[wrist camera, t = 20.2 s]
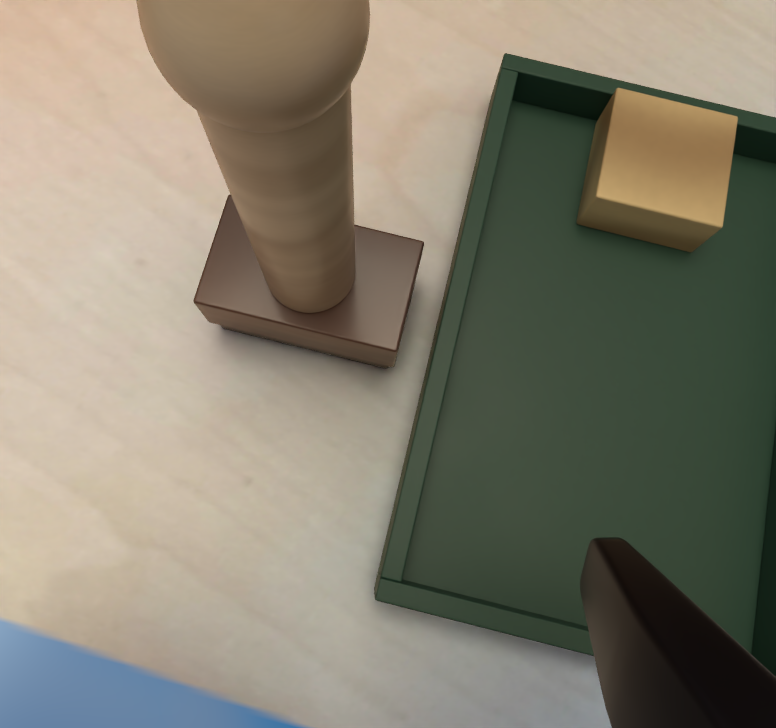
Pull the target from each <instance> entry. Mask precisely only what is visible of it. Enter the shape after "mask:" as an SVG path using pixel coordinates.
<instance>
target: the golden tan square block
mask: <svg viewBox="0 0 776 728" xmlns="http://www.w3.org/2000/svg"><path fill="white" fill-rule="evenodd" d="M737 121H738V117H737V116H733V115H729V114H725V113H721V112H717V111H713V110H709V109H704V108H700V107H696V106H692V105H688V104H684V103H680V102H676V101H671V100H667V99H663V98H659V97H655V96H651V95H647V94H643V93H638V92H634V91H630V90H626V89H622V88H617V89H616V90H615V92H614V94H613V95H612V97H611V99H610V100H609V102H608V104H607V105H606V107H605V109H604V110H603V112H602V114H601V115H600V117H599V119H598V121H597V122H596V125H595V130H594V135H593V140H592V145H591V151H590V156H589V161H588V166H587V171H586V176H585V181H584V186H583V191H582V196H581V201H580V206H579V211H578V216H577V221H576V222H577V224H578V225H582V226H586V227H590V228H594V229H598V230H602V231H606V232H610V233H615V234H619V235H623V236H627V237H631V238H635V239H639V240H643V241H647V242H651V243H655V244H659V245H663V246H667V247H671V248H675V249H679V250H683V251H687V252H693V251H694V250H695V249H696V248H698V247H699V246H700V245H701V244H703V243H704V242H705V241H706V240H708V239H709V238H710V237H711V236H713V235H714V234H715V233H716V232H718V231H719V230H720V229H721V228H722V227H723V221H724V214H725V207H726V200H727V193H728V186H729V178H730V171H731V164H732V157H733V150H734V143H735V135H736V128H737Z"/></svg>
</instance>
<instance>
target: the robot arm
mask: <svg viewBox="0 0 776 728" xmlns="http://www.w3.org/2000/svg"><path fill="white" fill-rule="evenodd" d="M580 592H581V598H582V603H583V607H584V612H585V616H586V621H587V626H588V630H589V635H590V639H591V644H592V649H593V653H594V658H595V662H596V667H597V672H598V676H599V681H600V685H601V690H602V694H603V698H604V702H605V706H606V710H607V713H608V716H609V720H610V723H611V726H612V728H776V677H775V676H774V675H773V674H772V673H771V672H770V671H769V670H768V669H767V668H766V667H764V666H763V665H762V664H761V663H760V662H759V661H758V660H757V659H756V658H755V657H753V656H752V655H751V654H750V653H749V652H748V651H747V650H746V649H745V648H744V647H742V646H741V645H740V644H739V643H738V642H737V641H736V640H735V639H734V638H733V637H731V636H730V635H729V634H728V633H727V632H726V631H725V630H724V629H723V628H722V627H721V626H719V625H718V624H717V623H716V622H715V621H714V620H713V619H712V618H711V617H710V616H708V615H707V614H706V613H705V612H704V611H703V610H702V609H701V608H700V607H699V606H697V605H696V604H695V603H694V602H693V601H692V600H691V599H690V598H689V597H688V596H687V595H685V594H684V593H683V592H682V591H681V590H680V589H679V588H678V587H677V586H676V585H674V584H673V583H672V582H671V581H670V580H669V579H668V578H667V577H666V576H665V575H663V574H662V573H661V572H660V571H659V570H658V569H657V568H656V567H655V566H654V565H652V564H651V563H650V562H649V561H648V560H647V559H646V558H645V557H644V556H643V555H642V554H640V553H639V552H638V551H637V550H636V549H635V548H634V547H633V546H632V545H631V544H629V543H628V542H627V541H626V540H624V539H622V538H620V537H602V538H594V539H592V540H591V541H590V543H589V546H588V550H587V554H586V558H585V562H584V566H583V570H582V574H581V578H580Z"/></svg>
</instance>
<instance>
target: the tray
mask: <svg viewBox="0 0 776 728" xmlns="http://www.w3.org/2000/svg"><path fill="white" fill-rule="evenodd" d="M617 88H622V89H626V90H630V91H634V92H638V93H643V94H647V95H651V96H655V97H659V98H663V99H667V100H671V101H676V102H680V103H684V104H688V105H692V106H696V107H700V108H704V109H709V110H713V111H717V112H721V113H725V114H729V115H733V116H737V117H738V121H737V128H736V135H735V143H734V150H733V157H732V164H731V171H730V178H729V186H728V193H727V200H726V207H725V214H724V221H723V227H722V228H721V229H720V230H719V231H718V232H716V233H715V234H714V235H713V236H711V237H710V238H709V239H708V240H706V241H705V242H704V243H703V244H701V245H700V246H699V247H698V248H696V249H695V250H694V251H693V252H687V251H683V250H679V249H675V248H671V247H667V246H663V245H659V244H655V243H651V242H647V241H643V240H639V239H635V238H631V237H627V236H623V235H619V234H615V233H610V232H606V231H602V230H598V229H594V228H590V227H586V226H582V225H578V224H577V222H576V221H577V216H578V211H579V206H580V201H581V196H582V191H583V186H584V181H585V176H586V171H587V166H588V161H589V156H590V151H591V145H592V140H593V135H594V130H595V125H596V122H597V121H598V119H599V117H600V115H601V114H602V112H603V110H604V109H605V107H606V105H607V104H608V102H609V100H610V99H611V97H612V95H613V94H614V92H615V90H616V89H617ZM602 537H620V538H622V539H624V540H626V541H627V542H628V543H629V544H631V545H632V546H633V547H634V548H635V549H636V550H637V551H638V552H639V553H640V554H642V555H643V556H644V557H645V558H646V559H647V560H648V561H649V562H650V563H651V564H652V565H654V566H655V567H656V568H657V569H658V570H659V571H660V572H661V573H662V574H663V575H665V576H666V577H667V578H668V579H669V580H670V581H671V582H672V583H673V584H674V585H676V586H677V587H678V588H679V589H680V590H681V591H682V592H683V593H684V594H685V595H687V596H688V597H689V598H690V599H691V600H692V601H693V602H694V603H695V604H696V605H697V606H699V607H700V608H701V609H702V610H703V611H704V612H705V613H706V614H707V615H708V616H710V617H711V618H712V619H713V620H714V621H715V622H716V623H717V624H718V625H719V626H721V627H722V628H723V629H724V630H725V631H726V632H727V633H728V634H729V635H730V636H731V637H733V638H734V639H735V640H736V641H737V642H738V643H739V644H740V645H741V646H742V647H744V648H745V649H746V650H747V651H748V652H749V653H750V654H751V655H752V656H753V657H755V658H756V659H757V660H758V661H759V662H760V663H761V664H762V665H763V666H764V667H766V668H767V669H768V670H769V671H770V672H771V673H772V674H773V675H774V676H775V677H776V118H775V117H770V116H766V115H762V114H758V113H754V112H750V111H745V110H741V109H737V108H733V107H729V106H724V105H720V104H716V103H712V102H708V101H703V100H699V99H695V98H691V97H687V96H683V95H678V94H674V93H670V92H666V91H662V90H657V89H653V88H649V87H645V86H641V85H637V84H632V83H628V82H624V81H620V80H616V79H611V78H607V77H603V76H599V75H595V74H590V73H586V72H582V71H578V70H574V69H570V68H565V67H561V66H557V65H553V64H549V63H544V62H540V61H536V60H532V59H528V58H523V57H519V56H515V55H511V54H507V53H505V54H504V56H503V60H502V63H501V66H500V69H499V73H498V76H497V79H496V83H495V86H494V89H493V92H492V96H491V100H490V104H489V108H488V112H487V117H486V121H485V125H484V129H483V133H482V138H481V142H480V146H479V150H478V154H477V159H476V163H475V167H474V171H473V175H472V180H471V184H470V188H469V192H468V196H467V201H466V205H465V209H464V213H463V217H462V222H461V226H460V230H459V234H458V238H457V242H456V247H455V251H454V255H453V259H452V263H451V268H450V272H449V276H448V280H447V284H446V289H445V293H444V297H443V301H442V305H441V310H440V314H439V318H438V322H437V326H436V331H435V335H434V339H433V343H432V347H431V352H430V356H429V360H428V364H427V368H426V373H425V377H424V381H423V385H422V389H421V394H420V398H419V402H418V406H417V410H416V415H415V419H414V423H413V427H412V431H411V436H410V440H409V444H408V448H407V452H406V456H405V461H404V465H403V469H402V473H401V477H400V482H399V486H398V490H397V494H396V498H395V503H394V507H393V511H392V515H391V519H390V524H389V528H388V532H387V536H386V540H385V545H384V549H383V553H382V557H381V561H380V566H379V570H378V574H377V578H376V582H375V587H374V594H375V600H377V601H380V602H384V603H388V604H392V605H396V606H400V607H404V608H408V609H412V610H416V611H420V612H424V613H427V614H431V615H435V616H439V617H443V618H447V619H451V620H455V621H459V622H463V623H467V624H471V625H474V626H478V627H482V628H486V629H490V630H494V631H498V632H502V633H506V634H510V635H514V636H518V637H521V638H525V639H529V640H533V641H537V642H541V643H545V644H549V645H553V646H557V647H561V648H565V649H568V650H572V651H576V652H580V653H584V654H588V655H592V656H594V653H593V649H592V644H591V639H590V635H589V630H588V626H587V621H586V616H585V612H584V607H583V603H582V598H581V592H580V578H581V574H582V570H583V566H584V562H585V558H586V554H587V550H588V546H589V543H590V541H591V540H592V539H594V538H602Z"/></svg>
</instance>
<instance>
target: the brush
mask: <svg viewBox="0 0 776 728" xmlns="http://www.w3.org/2000/svg"><path fill="white" fill-rule="evenodd" d="M137 7H138V13H139V19H140V25H141V29H142V32H143V35H144V38H145V41H146V44H147V47H148V50H149V52H150V54H151V56H152V58H153V60H154V62H155V63H156V65H157V67H158V69H159V70H160V72H161V73H162V75H163V76H164V78H165V79H166V81H167V82H168V83H169V84H170V86H171V87H172V88H173V89H174V90H175V91H176V92H177V93H178V94H179V96H180V97H181V98H182V99H183V100H185V101H186V102H187V103H188V104H190V105H191V106H192V107H193V108H195V109H196V110H197V112H198V115H199V117H200V120H201V122H202V125H203V127H204V130H205V132H206V135H207V137H208V140H209V142H210V145H211V147H212V149H213V152H214V154H215V157H216V159H217V162H218V164H219V167H220V169H221V172H222V174H223V177H224V179H225V182H226V184H227V186H228V189H229V191H230V194H231V195H228V198H227V201H226V204H225V207H224V210H223V213H222V216H221V219H220V222H219V225H218V228H217V231H216V234H215V237H214V240H213V243H212V246H211V249H210V252H209V255H208V258H207V261H206V264H205V267H204V270H203V273H202V276H201V279H200V282H199V285H198V288H197V291H196V294H195V298H194V303H195V305H196V306H197V307H198V309H199V310H200V311H201V312H202V314H203V315H204V316H205V318H206V319H207V320H208V321H209V322H211V323H215V324H219V325H221V326H222V328H224V329H228V330H232V331H236V332H240V333H244V334H248V335H253V336H257V337H261V338H265V339H269V340H273V341H277V342H281V343H285V344H289V345H293V346H297V347H301V348H305V349H309V350H313V351H318V352H322V353H326V354H330V355H334V356H338V357H342V358H346V359H350V360H354V361H358V362H362V363H366V364H370V365H374V366H378V367H382V368H388V366H389V367H394V365H395V361H396V357H397V353H398V349H399V345H400V341H401V337H402V333H403V329H404V325H405V321H406V317H407V313H408V309H409V305H410V301H411V297H412V293H413V289H414V284H415V280H416V276H417V272H418V268H419V264H420V260H421V255H422V251H423V246H424V242H423V241H419V240H415V239H411V238H407V237H403V236H398V235H394V234H390V233H386V232H382V231H378V230H374V229H370V228H366V227H361V226H357V225H354V191H353V152H352V113H351V83H352V81H353V79H354V77H355V75H356V74H357V72H358V70H359V67H360V65H361V62H362V59H363V56H364V53H365V50H366V45H367V41H368V34H369V23H370V8H369V0H137Z"/></svg>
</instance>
